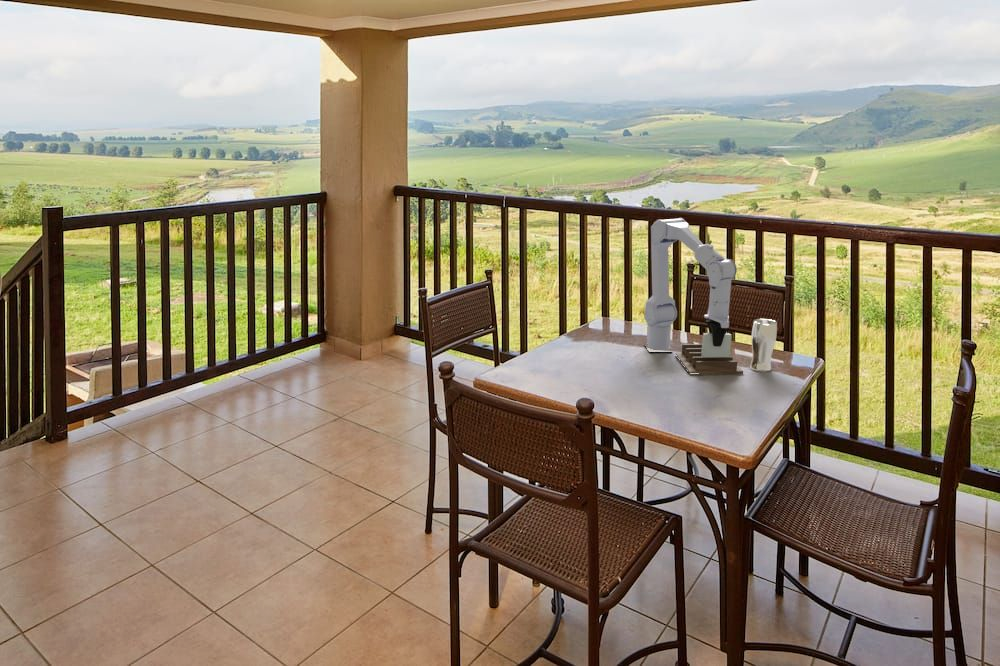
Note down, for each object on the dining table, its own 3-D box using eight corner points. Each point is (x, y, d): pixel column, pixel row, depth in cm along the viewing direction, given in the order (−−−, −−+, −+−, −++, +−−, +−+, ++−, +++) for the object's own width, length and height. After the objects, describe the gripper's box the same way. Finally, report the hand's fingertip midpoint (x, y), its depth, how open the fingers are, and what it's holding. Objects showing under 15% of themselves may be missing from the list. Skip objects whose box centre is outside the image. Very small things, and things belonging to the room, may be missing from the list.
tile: (701, 355, 197) (702, 333, 195) (727, 355, 197) (729, 333, 195) (702, 357, 195) (704, 334, 193) (729, 357, 195) (731, 335, 193)
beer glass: (746, 370, 198) (751, 323, 194) (749, 363, 204) (754, 317, 199) (771, 373, 195) (776, 325, 190) (773, 366, 201) (778, 320, 196)
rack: (675, 355, 212) (676, 344, 211) (724, 355, 212) (725, 343, 211) (689, 374, 195) (690, 362, 194) (742, 374, 195) (744, 361, 194)
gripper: (699, 295, 198) (696, 338, 202) (712, 306, 184) (709, 352, 188) (722, 295, 198) (718, 337, 202) (737, 306, 184) (733, 352, 188)
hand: (715, 344), depth 195 cm, fingers closed on tile, 2 cm apart
